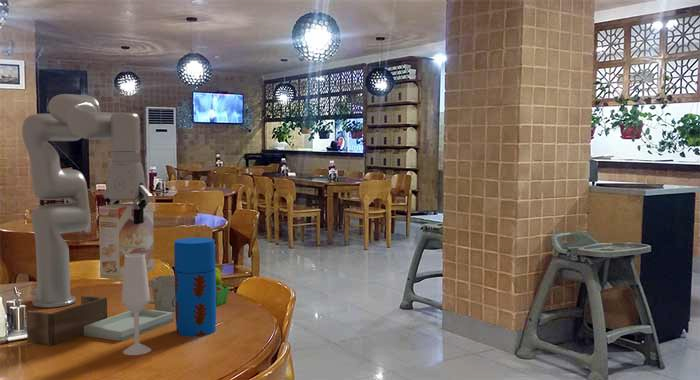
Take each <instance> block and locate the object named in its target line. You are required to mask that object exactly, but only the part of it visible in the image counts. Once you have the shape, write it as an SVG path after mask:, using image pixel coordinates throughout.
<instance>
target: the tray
mask: <svg viewBox="0 0 700 380" xmlns="http://www.w3.org/2000/svg"><path fill="white" fill-rule="evenodd" d="M171 322H172V323H173V322H174V311H173V312H165V311H157V310H156V309H150V308H149V309H148V308H143V309H142V310H141V311H140V312H139V335H141V334H145V333H147V332H150V331H151V330H155V329H157V328H159V327H162V326H165V325H167V324H170V323H171ZM83 336H87V337H93V338H99V339H106V340H111V341H112V340H113V341H118V342H123V341H126V340H128V339H132V338H134V313H133V312H131V311H130V310H128V311H125V312H121V313H118V314H116V315H113V316H110V317H107V318H106V319H103V320H100V321H97V322H94V323H91V324H88V325H85V326H84V335H83Z"/></svg>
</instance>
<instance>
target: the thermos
mask: <svg viewBox="0 0 700 380" xmlns="http://www.w3.org/2000/svg"><path fill="white" fill-rule="evenodd" d="M173 248H174V249H173V251H174V254H173V255H174V276H175V311H174V312H175V325H176V326H175V327H176V334H177V335H179V336H182V337H189V338H192V337H204V336H207V335H208V336H209V335H211V334H213V333H215V332H216V330H217V328H216V327H217V306H216V269H215V268H216V267H217V266H216V242H215V239H214V238H209V237H187V238H186V237H184V238H180V239H179V238H178V239H176V240H174V246H173Z"/></svg>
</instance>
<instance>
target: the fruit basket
mask: <svg viewBox="0 0 700 380" xmlns="http://www.w3.org/2000/svg"><path fill="white" fill-rule="evenodd" d="M215 269H216V307H218V306H220V305H223V304H225V303H227V299H228V296H229V295H228V294H229V292H230V289H231V286H227V285H221V283H222V272H221V270H220V268H219V266H216V268H215Z"/></svg>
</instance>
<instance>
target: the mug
mask: <svg viewBox="0 0 700 380" xmlns="http://www.w3.org/2000/svg"><path fill="white" fill-rule="evenodd" d="M148 285H149V287H151V289H152V296H153V300H152V301H151V299H150V300H149V302H148V305H154V306H155V307H154V308H155V309H154V310H157V311H165V312H173V313H174V312H175V275H157V276H154V277H151V279H150V282H149V281H148Z"/></svg>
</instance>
